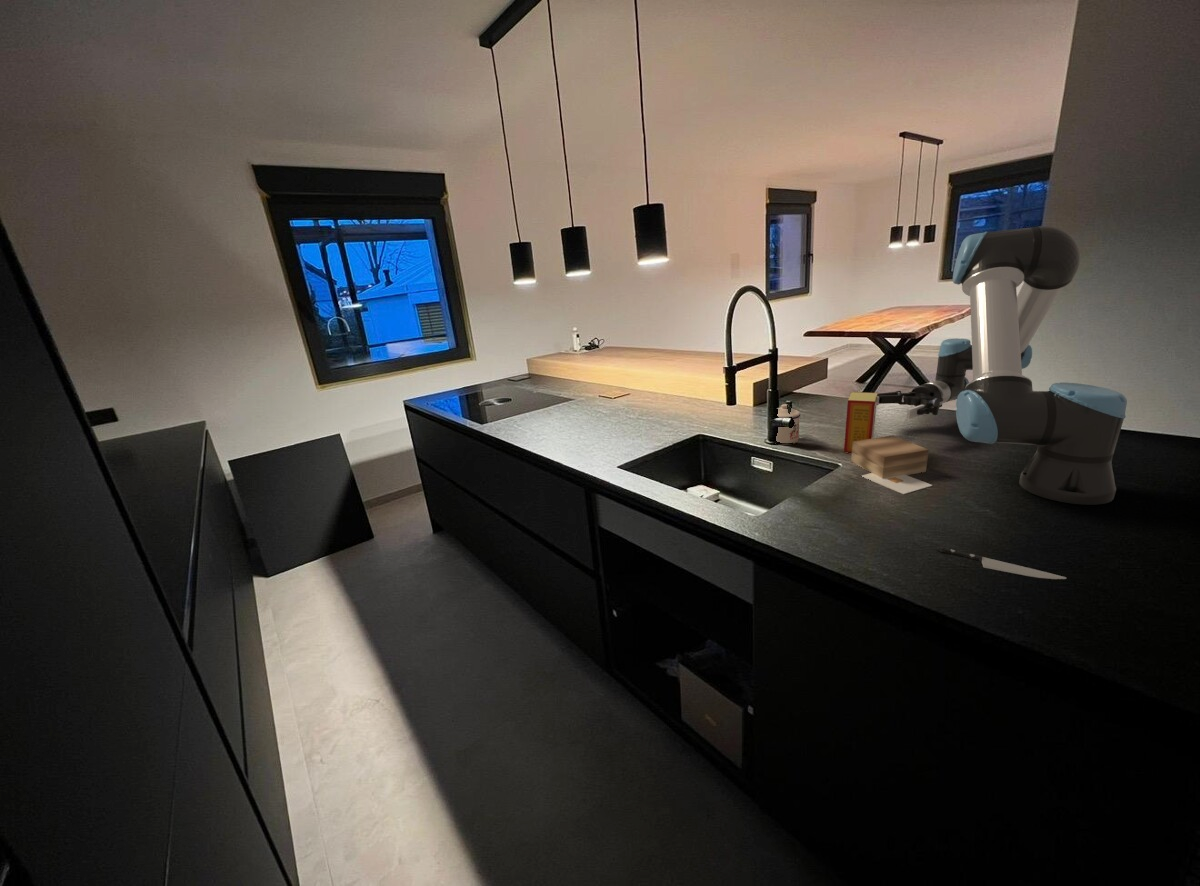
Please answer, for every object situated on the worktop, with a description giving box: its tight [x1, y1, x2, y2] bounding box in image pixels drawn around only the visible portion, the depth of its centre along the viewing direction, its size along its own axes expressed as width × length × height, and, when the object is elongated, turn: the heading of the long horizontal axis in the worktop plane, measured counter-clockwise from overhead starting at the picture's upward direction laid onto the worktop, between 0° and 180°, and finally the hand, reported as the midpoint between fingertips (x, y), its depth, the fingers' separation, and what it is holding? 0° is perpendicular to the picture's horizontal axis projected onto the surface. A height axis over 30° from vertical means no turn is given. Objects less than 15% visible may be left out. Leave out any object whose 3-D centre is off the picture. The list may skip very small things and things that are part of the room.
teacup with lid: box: [776, 403, 801, 443], centre depth 149 cm, size 12×9×12 cm
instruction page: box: [861, 472, 933, 495], centre depth 116 cm, size 12×9×1 cm
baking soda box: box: [843, 391, 878, 454], centre depth 135 cm, size 10×6×16 cm
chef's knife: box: [936, 546, 1067, 580], centre depth 82 cm, size 19×1×3 cm
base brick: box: [850, 434, 930, 478], centre depth 123 cm, size 12×12×6 cm
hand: (884, 409), depth 139 cm, fingers open, 13 cm apart
